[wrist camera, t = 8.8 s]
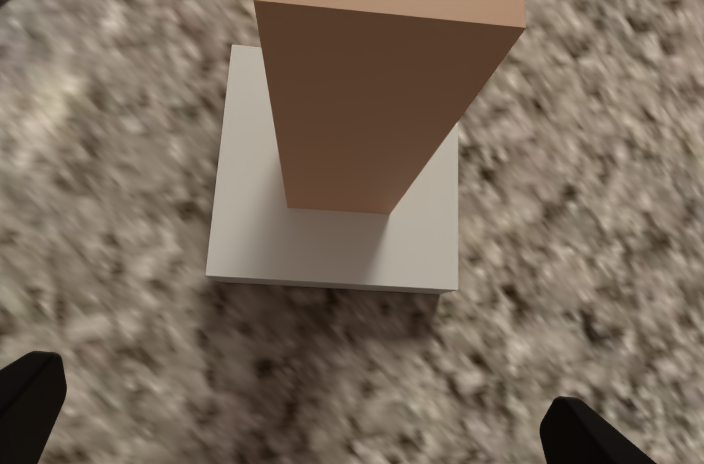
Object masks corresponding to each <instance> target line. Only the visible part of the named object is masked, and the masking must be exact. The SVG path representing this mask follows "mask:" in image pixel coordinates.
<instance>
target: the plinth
mask: <svg viewBox="0 0 704 464" xmlns="http://www.w3.org/2000/svg"><path fill="white" fill-rule="evenodd" d="M206 276H208V277H209V278H211V279H213V280H215V281H217V282H230V283H248V284H266V285H284V286H301V287H319V288H337V289H355V290H373V291H390V292H408V293H426V294H444V293H448V292H452V291H456V290H458V122H457V123H456V124H455V126H454V127H453V129H452V130H451V131H450V133H449V134H448V135H447V137H446V138H445V140H444V141H443V142H442V144H441V145H440V146H439V148H438V149H437V151H436V152H435V153H434V155H433V156H432V157H431V159H430V160H429V161H428V163H427V164H426V166H425V167H424V168H423V170H422V171H421V172H420V174H419V175H418V177H417V178H416V179H415V181H414V182H413V183H412V185H411V186H410V188H409V189H408V190H407V192H406V193H405V194H404V196H403V197H402V198H401V200H400V201H399V203H398V204H397V205H396V207H395V208H394V209H393V211H392V212H391V214H379V213H363V212H347V211H332V210H316V209H300V208H287V201H286V195H285V189H284V183H283V177H282V171H281V165H280V159H279V153H278V146H277V140H276V134H275V128H274V122H273V116H272V110H271V104H270V97H269V91H268V85H267V79H266V73H265V67H264V61H263V55H262V49H261V47H251V46H241V45H232V50H231V58H230V67H229V76H228V84H227V93H226V102H225V110H224V119H223V128H222V136H221V145H220V154H219V162H218V171H217V180H216V188H215V197H214V206H213V214H212V223H211V232H210V240H209V249H208V258H207V266H206Z"/></svg>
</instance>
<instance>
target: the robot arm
mask: <svg viewBox="0 0 704 464" xmlns="http://www.w3.org/2000/svg"><path fill="white" fill-rule="evenodd" d="M66 392H67V384H66V379H65V373H64V368H63V362H62V358H61V356H60V355H59V354H58V353H55V352H43V351H32V352H30V353H28V354H26V355H24V356H22V357H21V358H19V359H18V360H16V361H14V362H13V363H11V364H9V365H8V366H6V367H4V368H3V369H1V370H0V464H38V461H39V459H40V457H41V454H42V452H43V450H44V447H45V445H46V443H47V440H48V438H49V436H50V433H51V431H52V429H53V426H54V424H55V421H56V419H57V417H58V414H59V412H60V410H61V407H62V405H63V403H64V400H65V397H66ZM540 438H541V442H542V446H543V450H544V454H545V458H546V462H547V464H656V463H655V462H654V461H653V460H652V459H651V458H649V457H648V456H647V455H646V454H645V453H643V452H642V451H641V450H640V449H639V448H638V447H636V446H635V445H634V444H633V443H632V442H630V441H629V440H628V439H627V438H626V437H625V436H623V435H622V434H621V433H620V432H619V431H617V430H616V429H615V428H614V427H613V426H612V425H610V424H609V423H608V422H607V421H606V420H604V419H603V418H602V417H601V416H600V415H598V414H597V413H596V412H595V411H594V410H593V409H591V408H590V407H589V406H588V405H587V404H585V403H584V402H583V401H582V400H580V399H578V398H574V397H563V396H559V397H557V398H555V399H554V400H553V402H552V404H551V406H550V407H549V409H548V411H547V413H546V415H545V416H544V418H543V420H542V422H541V424H540Z"/></svg>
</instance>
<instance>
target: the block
mask: <svg viewBox="0 0 704 464" xmlns="http://www.w3.org/2000/svg"><path fill="white" fill-rule="evenodd" d="M254 6H255V12H256V18H257V24H258V30H259V36H260V42H261V49H262V55H263V61H264V67H265V73H266V79H267V85H268V91H269V97H270V104H271V110H272V116H273V122H274V128H275V134H276V140H277V146H278V153H279V159H280V165H281V171H282V177H283V183H284V189H285V195H286V201H287V208H300V209H316V210H332V211H347V212H363V213H379V214H391V212H392V211H393V209H394V208H395V207H396V205H397V204H398V203H399V201H400V200H401V198H402V197H403V196H404V194H405V193H406V192H407V190H408V189H409V188H410V186H411V185H412V183H413V182H414V181H415V179H416V178H417V177H418V175H419V174H420V172H421V171H422V170H423V168H424V167H425V166H426V164H427V163H428V161H429V160H430V159H431V157H432V156H433V155H434V153H435V152H436V151H437V149H438V148H439V146H440V145H441V144H442V142H443V141H444V140H445V138H446V137H447V135H448V134H449V133H450V131H451V130H452V129H453V127H454V126H455V124H456V123H457V122H458V120H459V119H460V118H461V116H462V115H463V114H464V112H465V111H466V109H467V108H468V107H469V105H470V104H471V103H472V101H473V100H474V98H475V97H476V96H477V94H478V93H479V92H480V90H481V89H482V88H483V86H484V85H485V83H486V82H487V81H488V79H489V78H490V77H491V75H492V74H493V72H494V71H495V70H496V68H497V67H498V66H499V64H500V63H501V61H502V60H503V59H504V57H505V56H506V55H507V53H508V52H509V51H510V49H511V48H512V46H513V45H514V44H515V42H516V41H517V40H518V38H519V37H520V35H521V34H522V33H523V31H524V30H525V29H526V14H525V0H254Z"/></svg>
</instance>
